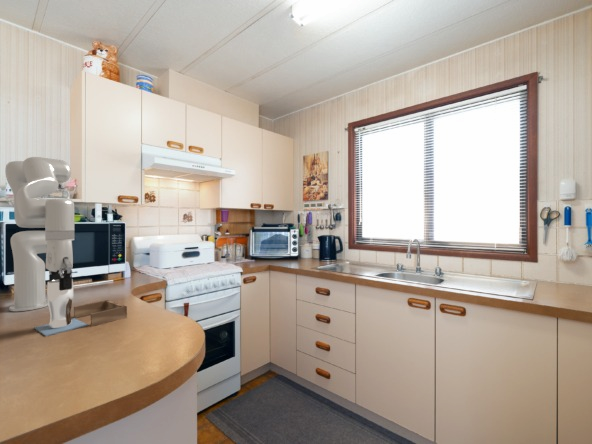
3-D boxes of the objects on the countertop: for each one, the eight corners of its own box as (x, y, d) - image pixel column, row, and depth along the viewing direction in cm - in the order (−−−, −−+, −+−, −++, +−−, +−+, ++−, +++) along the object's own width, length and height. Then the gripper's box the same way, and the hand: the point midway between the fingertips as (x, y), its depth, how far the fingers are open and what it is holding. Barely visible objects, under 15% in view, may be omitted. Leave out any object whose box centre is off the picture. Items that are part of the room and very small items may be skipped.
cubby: (74, 317, 106) (73, 306, 106) (107, 310, 115) (107, 300, 115) (92, 326, 96) (91, 314, 96) (126, 317, 105) (126, 306, 105)
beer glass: (78, 323, 98) (77, 279, 98) (54, 330, 92) (53, 283, 92) (66, 320, 101) (66, 278, 101) (42, 327, 95) (42, 281, 95)
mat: (34, 328, 95) (34, 327, 95) (74, 319, 104) (74, 318, 104) (45, 336, 88) (45, 335, 88) (87, 325, 97) (87, 324, 97)
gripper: (37, 235, 98) (37, 285, 98) (54, 238, 88) (55, 293, 89) (64, 234, 104) (64, 281, 105) (83, 236, 94) (83, 289, 95)
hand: (60, 287), depth 97 cm, fingers open, 9 cm apart
